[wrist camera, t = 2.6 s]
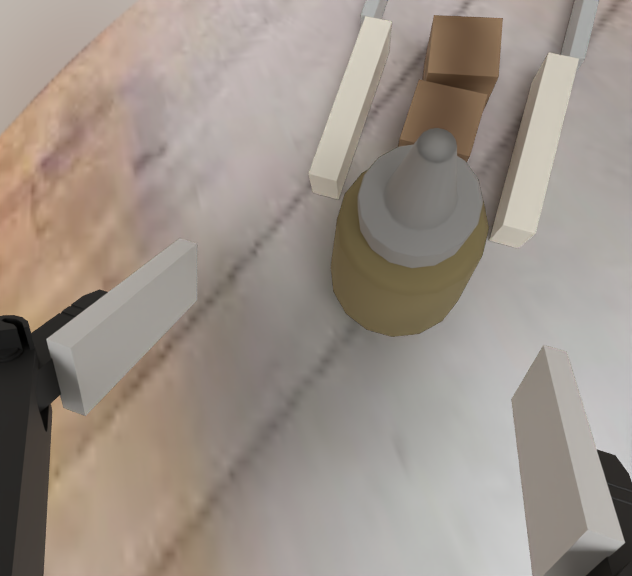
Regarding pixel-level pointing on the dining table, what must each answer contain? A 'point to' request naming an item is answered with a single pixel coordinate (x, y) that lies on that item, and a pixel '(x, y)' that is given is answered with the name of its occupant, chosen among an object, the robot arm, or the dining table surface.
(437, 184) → the squeeze bottle
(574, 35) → the grey flat u-shaped frame
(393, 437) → the dining table surface
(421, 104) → the brown cubic block
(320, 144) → the slot rails
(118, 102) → the dining table surface
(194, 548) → the dining table surface
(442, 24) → the brown cube block
